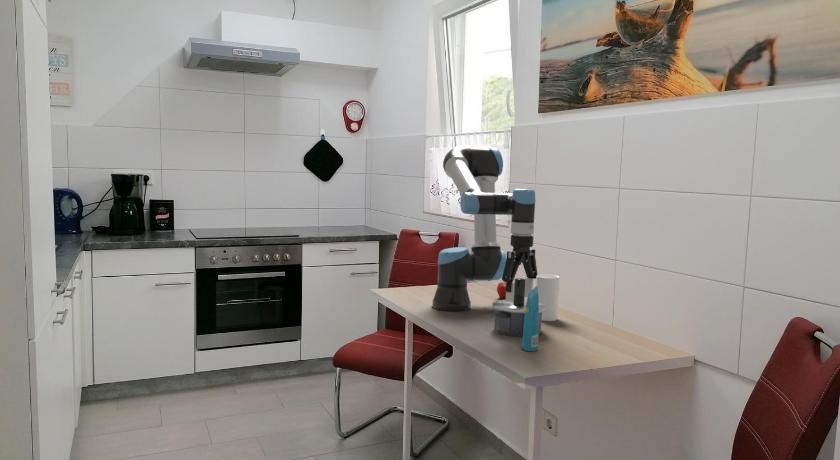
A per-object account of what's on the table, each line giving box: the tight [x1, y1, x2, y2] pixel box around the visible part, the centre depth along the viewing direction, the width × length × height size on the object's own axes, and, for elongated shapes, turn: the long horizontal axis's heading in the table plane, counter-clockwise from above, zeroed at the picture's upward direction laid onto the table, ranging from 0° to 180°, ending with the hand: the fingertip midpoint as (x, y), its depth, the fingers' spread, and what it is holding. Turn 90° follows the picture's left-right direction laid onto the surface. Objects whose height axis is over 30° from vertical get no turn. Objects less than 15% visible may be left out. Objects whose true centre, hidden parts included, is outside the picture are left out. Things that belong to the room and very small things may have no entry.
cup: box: [535, 273, 560, 322], centre depth 229 cm, size 8×8×16 cm
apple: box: [496, 277, 506, 300], centre depth 263 cm, size 8×7×10 cm
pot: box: [493, 309, 543, 338], centre depth 211 cm, size 21×16×8 cm
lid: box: [491, 277, 546, 314], centre depth 210 cm, size 18×18×10 cm
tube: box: [521, 285, 539, 352], centre depth 187 cm, size 7×5×19 cm, turn 154°
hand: (519, 299), depth 210 cm, fingers open, 10 cm apart
